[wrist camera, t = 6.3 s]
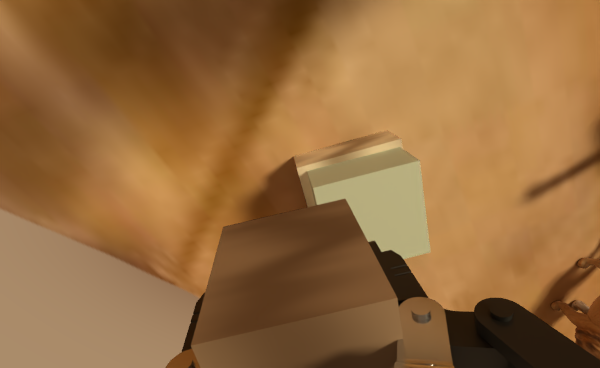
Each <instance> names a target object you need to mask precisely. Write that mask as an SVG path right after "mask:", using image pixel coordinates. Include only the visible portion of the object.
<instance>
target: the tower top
mask: <svg viewBox="0 0 600 368" xmlns="http://www.w3.org/2000/svg"><path fill="white" fill-rule="evenodd" d="M307 173H308V177H309V181H310V185H311V189H312V193H313V197H314V201H315V205H320V204H324V203H328V202H332V201H337V200H341V199H346V201H347V202H348V204H349V206H350V208H351V210H352V212H353V214H354V216H355V218H356V220H357V222H358V224H359V225H360V227H361V229H362V231H363V233H364V235H365V237H366V239H367V241H368V242H370V241H375V242H376V243H377V245H378V247H379V248H380V250H381V252H384V251H388V250H392V251H394V252H396V253H397V254H399V255H401V256H402V258H403V259H406V258H410V257H414V256H418V255H422V254H426V253H430V243H429V235H428V227H427V218H426V210H425V201H424V193H423V184H422V176H421V167H420V160H418V159H417V158H415V157H414V156H412V155H411V154H409V153H408V152H407V151H405V150H404V149H402V148H401V147H398V148H394V149H390V150H386V151H382V152H378V153H374V154H371V155H367V156H363V157H359V158H355V159H351V160H347V161H344V162H340V163H336V164H332V165H328V166H324V167H320V168H316V169H313V170H309V171H307Z"/></svg>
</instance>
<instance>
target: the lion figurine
mask: <svg viewBox="0 0 600 368" xmlns="http://www.w3.org/2000/svg"><path fill="white" fill-rule="evenodd" d="M589 265H594V266H596V267H598V268H600V259H593V258H582V259H581V260H579V261H578V266H579V267H581V268H587V267H588V266H589ZM551 307H552V309H554V310H556V311H557V310H558V311H559V310H560V309H561V310H562V311H563V313H564V314H565V315H566V316H567V318H568V319H569V320H570V321H571V322H572V323H573V324H574V325H576V326H577V328H576V333H575V338H576V344H577V345H579V346H580V347H582V348H583V349H585V350H586V351H588V352H589V353H590V354H592V355H593V356H595V357H596V358H598V359H599V360H600V296H599V297H597V298H596V300H595V301H594V302H593V303H592V305H591V306H590V308H589V307H588V306H587V305H586V304H585V303H584V302H582V301H578V300H577V301H574V302H573V303H572V306H571V307H572V308H571V307H570V306H569V305H568V304H566V303H563V302H561V301H556V302H553V303H552V304H551ZM578 310H580V311H582V312H583V313H584V314H583V313H578V312H576V311H578Z"/></svg>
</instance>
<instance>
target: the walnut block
mask: <svg viewBox="0 0 600 368" xmlns="http://www.w3.org/2000/svg"><path fill="white" fill-rule="evenodd" d="M399 339H403V335H402V328H401V320H400V313H399V306H398V299H397V296H396V294H395V292H394V290H393V289H392V287H391V285H390V283H389V281H388V279H387V277H386V275H385V273H384V271H383V269H382V268H381V266H380V264H379V262H378V260H377V258H376V256H375V254H374V252H373V250H372V248H371V246H370V245H369V243H368V241H367V239H366V237H365V235H364V233H363V231H362V229H361V227H360V225H359V224H358V222H357V220H356V218H355V216H354V214H353V212H352V210H351V208H350V206H349V204H348V202H347V201H346V199H341V200H337V201H332V202H328V203H324V204H320V205H315V206H311V207H307V208H302V209H298V210H294V211H289V212H285V213H281V214H276V215H272V216H268V217H263V218H259V219H255V220H251V221H246V222H242V223H238V224H233V225H229V226H225V227H223V230H222V234H221V237H220V241H219V245H218V248H217V252H216V256H215V259H214V263H213V267H212V270H211V274H210V278H209V281H208V285H207V288H206V292H205V296H204V299H203V303H202V307H201V310H200V314H199V318H198V321H197V325H196V329H195V332H194V336H193V340H192V343H191V347H192V350H193V352H194V354H195V356H196V359H197V361H198V363H199V365H200V368H394V363H395V361H396V362H397V340H399Z"/></svg>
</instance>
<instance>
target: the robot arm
mask: <svg viewBox="0 0 600 368" xmlns="http://www.w3.org/2000/svg"><path fill="white" fill-rule="evenodd" d="M368 243H369V245H370V246H371V248H372V250H373V252H374V254H375V256H376V258H377V260H378V262H379V264H380V266H381V268H382V269H383V271H384V273H385V275H386V277H387V279H388V281H389V283H390V285H391V287H392V289H393V290H394V292H395V294H396V296H397V299H398V306H399V313H400V320H401V328H402V335H403V339H399V340H397V362H396V361H395V363H394V368H600V360H599V359H598V358H596V357H595V356H593V355H592V354H590V353H589V352H588V351H586V350H585V349H583V348H582V347H580V346H579V345H577V344H576V343H574V342H573V341H571V340H570V339H569V338H567V337H566V336H564V335H563V334H561V333H560V332H558V331H557V330H555V329H554V328H552V327H551V326H550V325H548V324H547V323H545V322H544V321H542V320H541V319H539V318H538V317H536V316H535V315H533V314H532V313H531V312H529V311H528V310H526V309H525V308H523V307H522V306H520V305H519V304H517V303H515V302H513V301H510V300H507V299H503V298H488V299H484V300H482V301H480V302H479V303H478V304H477V305H476V306H475V309H474V312H460V311H450V310H446V309H443V307H442V306H441V305H440V304H439V303H438V302H436V301H435V300H432V299H430V298H428V296H427V295H426V293H425V292H424V290H423V289H422V287H421V286H420V284H419V283H418V281H417V280H416V278H415V276H414V275H413V273H411V270H410V269H409V267H408V266H407V264H406V263H405V261H404V260H403V258H402V256H401V255H399V254H397V253H396V252H394V251H392V250H388V251H384V252H381V250H380V248H379V247H378V245H377V243H376V242H375V241H370V242H368ZM204 296H205V293H204V294H203V295H202V296H201V298H200V299H199V300H198V302H197V303H196V306H195V309H194V313H193V314H194V315H193V316H192V319H191V324H190V326H189V330H188V333H187V336H186V339H185V343H184V346H183V349H182V353H180V354H178V355H177V356H176V357H174V358H173V359H172V360H171V361H170V362H169V363H168V365H167V366H166V368H200V365H199V363H198V361H197V359H196V356H195V354H194V352H193V350H192V347H191V343H192V340H193V336H194V332H195V329H196V325H197V321H198V318H199V314H200V310H201V307H202V303H203V299H204Z"/></svg>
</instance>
